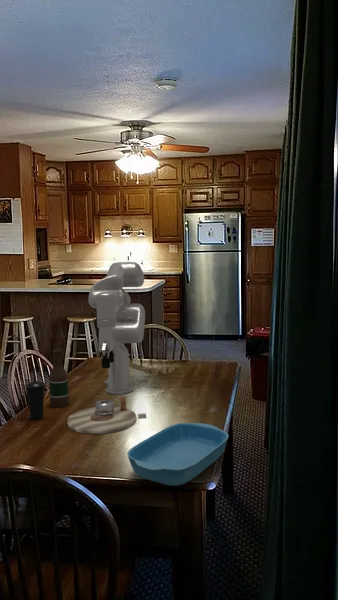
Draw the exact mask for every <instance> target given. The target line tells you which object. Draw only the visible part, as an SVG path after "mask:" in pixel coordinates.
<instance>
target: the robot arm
mask: <svg viewBox="0 0 338 600" xmlns="http://www.w3.org/2000/svg"><path fill="white" fill-rule="evenodd" d="M142 269H143V268H141V265H140V264H139V263H137V262H135V261H122V262H120V261H118V262H114V263H112V264H110V266H109V268H108V271H107V274H106V276H105V277H104V278H102V279H100V280H98V281H96V282H94V284H92V286H91V288H90V290H89V294H88V304H89V306H90V307H91V308H93V309H96V323H97V324H96V325H97V326H96V327H97V328H98V352H99V353H101V368H102V369H108V370H107V371H108V373H107V374H108V378H107V379H106V380H104V383H105V384H106V385H107V387H106V388H105V392H106V393H107V394H111V395H125V394H129V393H132V392H133V391H134V386H133V385H131V382H130V355H129V350H128V348H127V347H126V346H125V344H139V343H142V342H143V339H144V336H145V335H144V333H145V321H146V311H145V308H144V307H145V306H143V305H142V304H141V303H131V297H130V295H129V293H128V292H127V291H126V290H124V289H123V288H139V287H142V286H143V285H144V283H145V274H144V271H143V270H142Z"/></svg>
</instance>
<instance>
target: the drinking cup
mask: <svg viewBox="0 0 338 600" xmlns="http://www.w3.org/2000/svg"><path fill="white" fill-rule="evenodd" d="M32 370H33V380H31V381H29V382H26V383H25V384H24V387H25V391H26V397H27V404H28V405H27V406H28V411H29V417H30V420H31V421H37V420H38V421H40V420H42V419H43V418H44V404H45V403H44V402H45V401H44V400H45V385H46V383H45V382H44V381H42V380H36V368H35V367H33V369H32Z"/></svg>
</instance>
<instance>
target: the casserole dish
mask: <svg viewBox="0 0 338 600" xmlns="http://www.w3.org/2000/svg"><path fill="white" fill-rule="evenodd" d="M229 437H230V436H229V434H228V432H226V431H225V430H222V429H220V428H219V427H218V426H215V425H212V424H208V423H202V422H201V423H200V422H193V423H192V422H179V423H175V424H172V425H170V426H167V427H165V428H163V429H162V430H159V431H158V432H156V433H155V434H152V435H151V436H149V437H148V438H146V439H144V440H142V441H141V442H138V444H135V445H134V446H133V447H131V448H129V450H128V451H127V454H126V455H127V457H128V460H129V464H130V466H131V468H132V470H133V472H134V473H135V474H136V475H137V476H138V477H140V478H142V479H145V480H148V481H150V482H155V483H159V484H162V485H166V486H170V487H171V486H172V487H176V486H177V487H179V486H182V485H184V484H187V483H188V482H190V481H192V480H193V479H195V478H196V477H197V476H198V475H200V474H201V473H202V472H204V471H205V470H206V469H207V468H208V467H209V466H211V465H212V464H214V463H215V462H216V461H217V460H218V459H219V458H220V457H222V455H223V453H224V451H225V449H226V446H227V443H228V439H229Z"/></svg>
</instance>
